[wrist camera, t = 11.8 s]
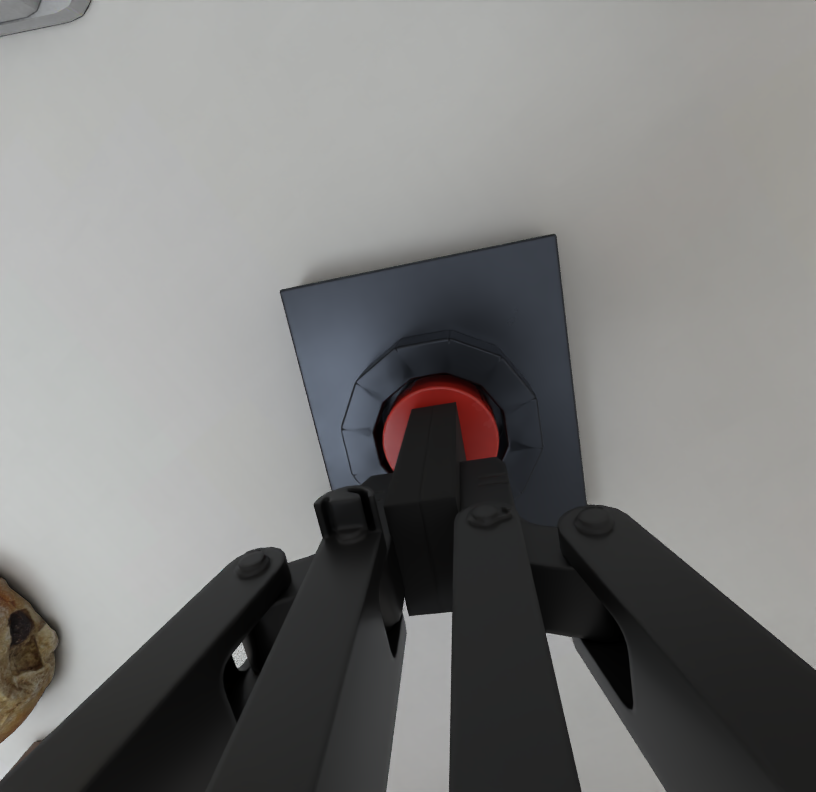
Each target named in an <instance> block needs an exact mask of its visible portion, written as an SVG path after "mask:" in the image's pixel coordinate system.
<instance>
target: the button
mask: <svg viewBox="0 0 816 792" xmlns="http://www.w3.org/2000/svg"><path fill="white" fill-rule="evenodd" d="M452 402H456V405H457V410H458V416H459V421H460V427H461V433H462V438H463V444H464V449H465V455H466V460H467V461H469V460H476V459H483V458H490V457H497V455H498V449H499V433H498V428H497V424H496V420H495V415H494V411H493V409H492V406H491V404H490V402H489V400H488V399H487V397H486V396H485V395H484V394H483V392H482V391H481V390H480V389H479V388H477V387H476V386H475V385H473V384H472V383H470V382H468V381H466V380H463V379H460V378H457V377H454V376H451V375H435V376H429V377H423V378H421V379H418V380H416V381H414V382H413V383H411V384H410V385H408V386H407V387H406V388H405V389H404V390H402V391H401V393H400V394H399V395H398V396H397V398H396V399H395V401H394V403H393V405H392V407H391V410H390V412H389V415H388V417H387V419H386V422H385V425H384V429H383V436H382V440H383V450H384V453H385V457H386V459H387V461H388V464H389V465H390V467H391V468H392V470H393V471H394V468H395V465H396V461H397V458H398V454H399V451H400V447H401V444H402V441H403V437H404V434H405V430H406V427H407V423H408V420H409V416H410V413H411V409H415V408H421V407H428V406H434V405H440V404H446V403H452Z"/></svg>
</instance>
